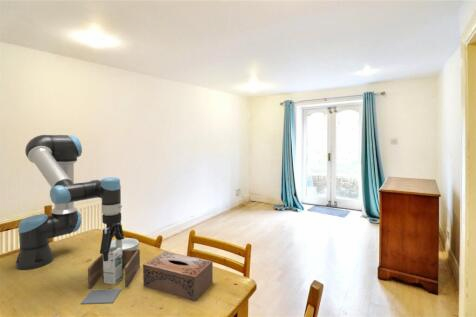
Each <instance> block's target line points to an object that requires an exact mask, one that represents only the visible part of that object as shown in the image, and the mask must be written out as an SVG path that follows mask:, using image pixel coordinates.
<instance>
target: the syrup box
mask: <svg viewBox="0 0 476 317" xmlns="http://www.w3.org/2000/svg"><path fill="white" fill-rule="evenodd" d="M109 252H110V260H111V267H110V268H103V271H104V274H103V283H104V284H107V285H108V284H109V285H116V284H118V283H119V282H120V281H121V280H122V279H124V269H123V258H122V247H110V250H109Z"/></svg>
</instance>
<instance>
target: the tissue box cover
mask: <svg viewBox="0 0 476 317" xmlns="http://www.w3.org/2000/svg"><path fill="white" fill-rule="evenodd" d="M213 264H214V263H213V261H212V260H207V259H203V258H200V257H194V256H189V255H184V254H179V253H175V252H170V251H163V252H161V253H160V254H158V255H156V256H155V257H153V258H151V259H150V260H148V261H146V262H144V263H143V264H142V274H143V275H142V277H143V278H142V282H143V283H142V284H143V287H144V288H148V289H152V290H155V291H158V292H162V293H164V294H165V293H166V294H169V295H172V296H175V297H180V298H182V299H187V300H190V301H193V302H196V301H197V300H198V299H199V298H200V297H201V295H202V294H203V293H204V292H205V291H206V290H207V289H208V288H209V287H210V286H211V285H212V284H213V274H214V273H213V267H214V266H213Z"/></svg>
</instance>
